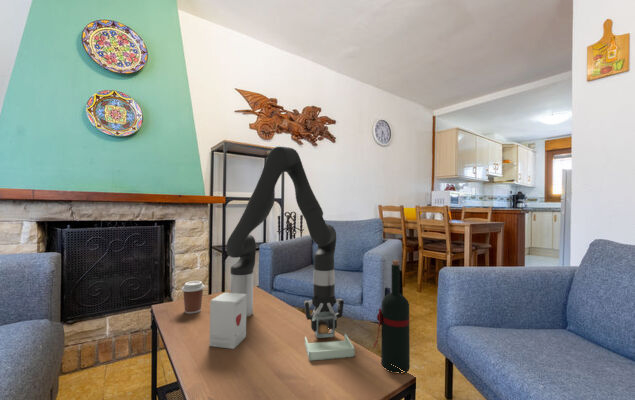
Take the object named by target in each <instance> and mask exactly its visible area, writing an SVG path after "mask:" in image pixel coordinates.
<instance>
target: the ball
mask: <svg viewBox="0 0 635 400" xmlns="http://www.w3.org/2000/svg"><path fill="white" fill-rule="evenodd" d="M329 331H330V330H329V329H328V327H327V326H326V325H325V324H321V325H320V326H319V327H318V334H321V333H330V332H329Z"/></svg>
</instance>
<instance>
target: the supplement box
mask: <svg viewBox="0 0 635 400" xmlns="http://www.w3.org/2000/svg"><path fill="white" fill-rule="evenodd" d="M246 302H247V294H238V293H230V292H223V293H221V294H218V295H217V296H216V297H214V298H212V299H210V308H209V311H210V312H209V344H208V345H209V347H215V348H222V349H223V348H224V349H231V350H234V349H235V348H237V346H238V345H240V344H241V342H242V341H244V339H246V337H247V317H246Z"/></svg>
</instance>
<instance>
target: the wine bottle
mask: <svg viewBox="0 0 635 400" xmlns="http://www.w3.org/2000/svg"><path fill="white" fill-rule="evenodd" d="M399 262H400V261H399V260H398V259H396V260H395V259H394V260H393V259H392V264H391V292H389V293H387V294H386V295H385V296H384V297H383V299H382V301H381V308H378V313H377V314H376V319H377V322H378V328H377V329H378V330H377V337H376V341H375V342H374V344H373V348H375V347H376V346H377V344H378V341H379V340H378V339H379V333H380V332H379V331H380V326H381V340H380V341H381V346H380V347H381V350H380V351H381V352H380V353H381V354H380V355H381V357H380V362H381V363H380V365H381V364H382V365H381V366H383V367H384V368H386V369H387V370H389V371H392V372H399V373H401V372H403V371H405V372H406V373H408V372H409V370H410V367H411V365H410V362H411V361H410V359H411V357H410V355H411V354H410V349H411V348H410V303H409V301H408V299H407V298H406V297H405V296H404V295H403V294H402V293H401V292H400V264H399ZM381 358H382V359H381ZM391 364H392V365H391ZM393 365H394V366H393ZM395 366H396V367H395ZM383 367H382V368H383ZM397 367H398V368H397ZM384 368H383V369H384ZM399 368H400V369H401V370H403V371H401V370H400V369H399ZM387 370H386V371H387ZM392 372H391V373H392Z"/></svg>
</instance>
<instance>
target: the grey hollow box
mask: <svg viewBox="0 0 635 400" xmlns="http://www.w3.org/2000/svg"><path fill="white" fill-rule="evenodd" d="M315 321H316V332H314V334H315V337H316V339H321V338H324V339H325V338H334V337H335V330H336V328H335V316H334V314H331V313H330V311H329V312H325V311H324V312H319V314H318V315H316V319H315ZM321 324H325V325H326V326H327V327H328V328H329V331H330V332H328V333H321V334H318V327H319V326H320V325H321ZM330 329H331V330H330Z"/></svg>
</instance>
